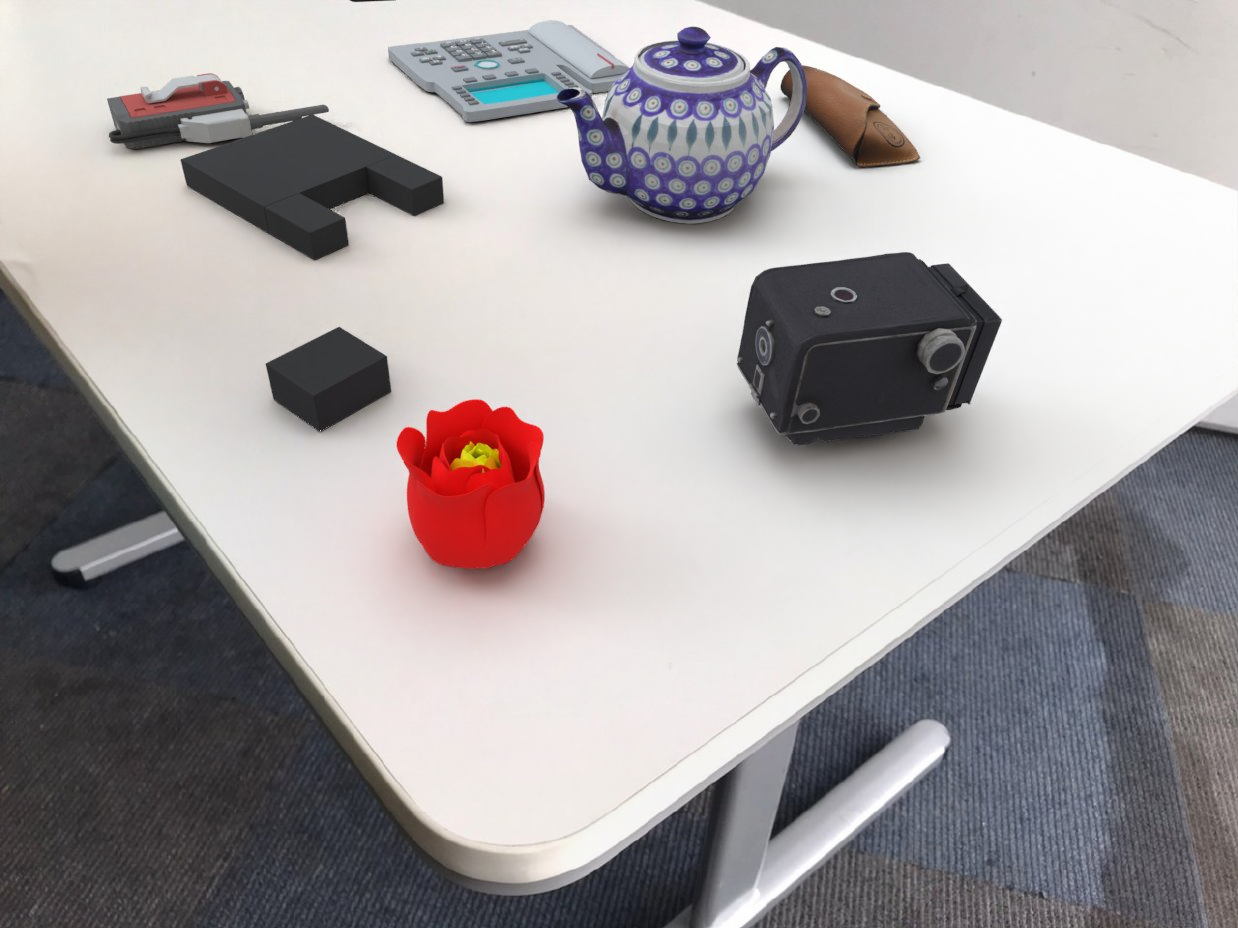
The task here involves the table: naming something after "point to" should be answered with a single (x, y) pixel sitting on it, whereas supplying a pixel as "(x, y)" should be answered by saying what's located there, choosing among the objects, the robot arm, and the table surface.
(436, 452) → the flower
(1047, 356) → the table surface
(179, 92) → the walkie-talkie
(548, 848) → the table surface
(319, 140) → the big pad
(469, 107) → the office telephone
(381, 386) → the small pad
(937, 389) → the camera
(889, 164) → the sunglasses case
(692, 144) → the teapot
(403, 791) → the table surface
